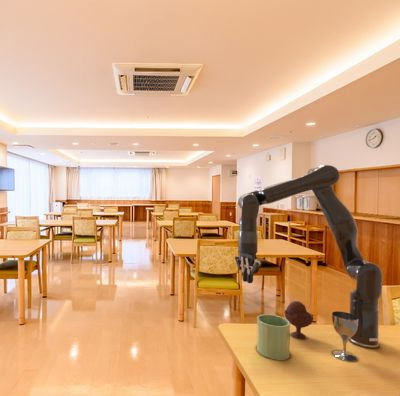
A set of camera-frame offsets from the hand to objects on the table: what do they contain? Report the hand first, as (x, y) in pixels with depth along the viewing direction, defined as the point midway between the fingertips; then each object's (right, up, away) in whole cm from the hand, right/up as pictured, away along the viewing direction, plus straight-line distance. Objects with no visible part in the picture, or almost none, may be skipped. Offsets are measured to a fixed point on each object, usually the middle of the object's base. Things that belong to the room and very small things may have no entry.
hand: (247, 281), depth 122 cm
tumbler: (+5, -23, -12) cm, 26 cm away
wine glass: (+30, -23, -15) cm, 41 cm away
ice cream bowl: (+22, -23, +1) cm, 32 cm away
